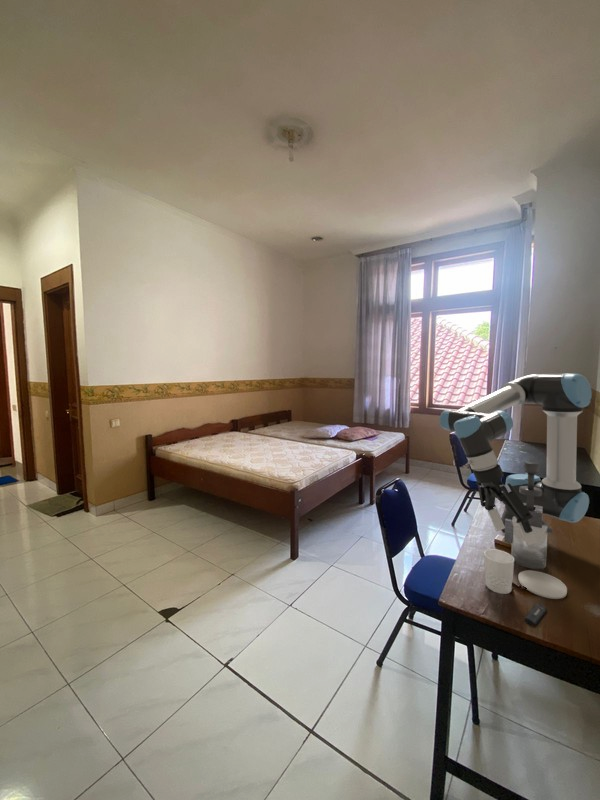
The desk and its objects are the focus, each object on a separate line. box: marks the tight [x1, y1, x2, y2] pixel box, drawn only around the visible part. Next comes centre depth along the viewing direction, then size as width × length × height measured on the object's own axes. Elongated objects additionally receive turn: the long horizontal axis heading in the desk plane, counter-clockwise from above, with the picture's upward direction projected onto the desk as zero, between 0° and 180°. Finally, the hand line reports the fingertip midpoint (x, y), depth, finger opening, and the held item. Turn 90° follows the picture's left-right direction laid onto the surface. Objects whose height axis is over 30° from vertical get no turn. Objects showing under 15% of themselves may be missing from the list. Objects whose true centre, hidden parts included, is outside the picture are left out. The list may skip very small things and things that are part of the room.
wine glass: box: [519, 461, 542, 510], centre depth 113 cm, size 6×6×16 cm
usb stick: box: [523, 603, 547, 627], centre depth 89 cm, size 10×3×2 cm, turn 127°
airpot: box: [504, 503, 553, 570], centre depth 114 cm, size 13×10×19 cm
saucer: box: [518, 569, 568, 600], centre depth 101 cm, size 12×12×1 cm
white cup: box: [483, 548, 515, 595], centre depth 101 cm, size 8×8×10 cm
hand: (515, 535), depth 96 cm, fingers open, 13 cm apart
